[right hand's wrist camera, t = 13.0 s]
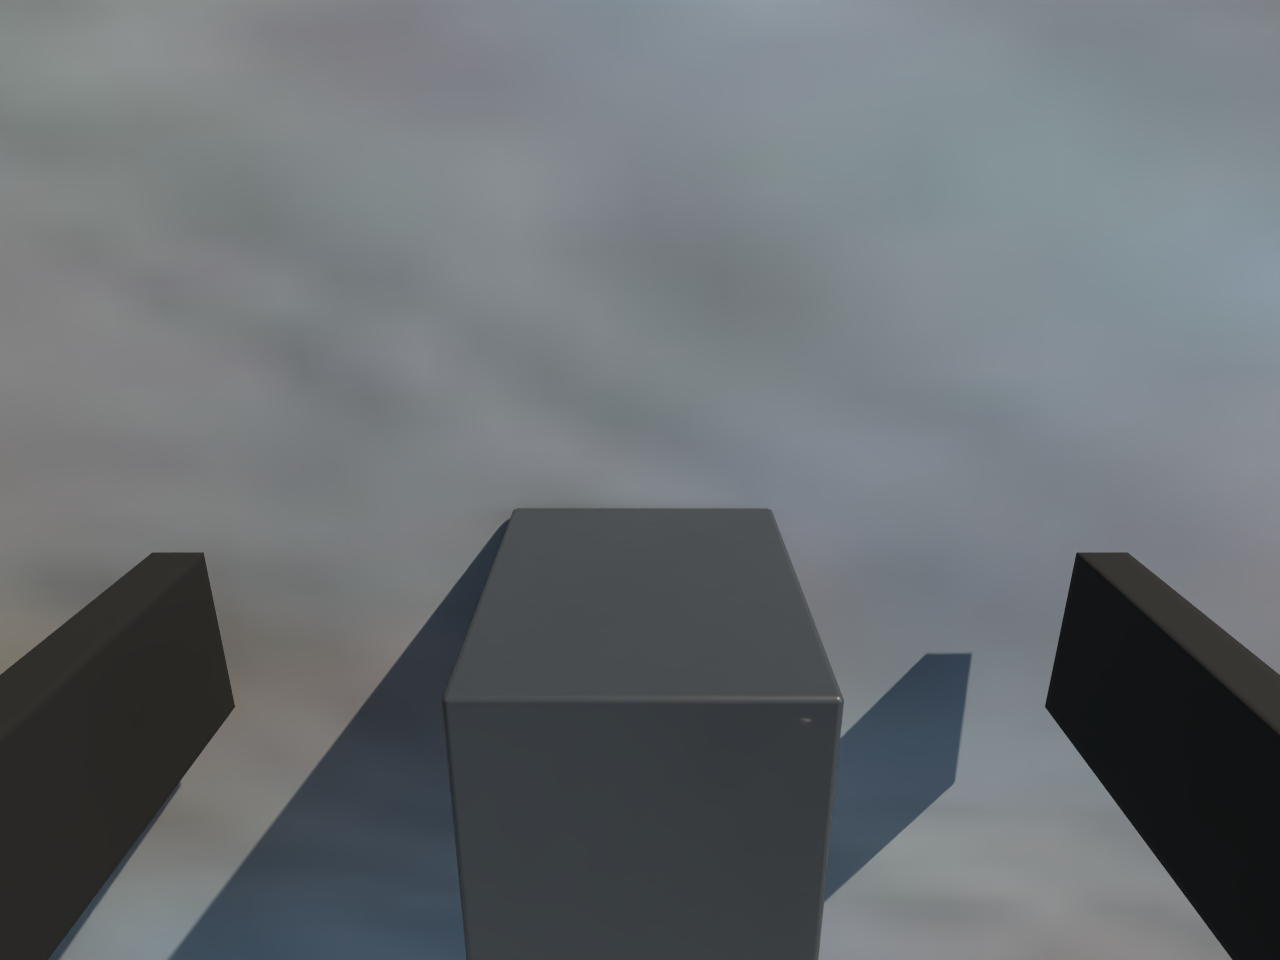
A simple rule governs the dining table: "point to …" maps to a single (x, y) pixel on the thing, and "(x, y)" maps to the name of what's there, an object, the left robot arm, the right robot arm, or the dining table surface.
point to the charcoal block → (642, 742)
